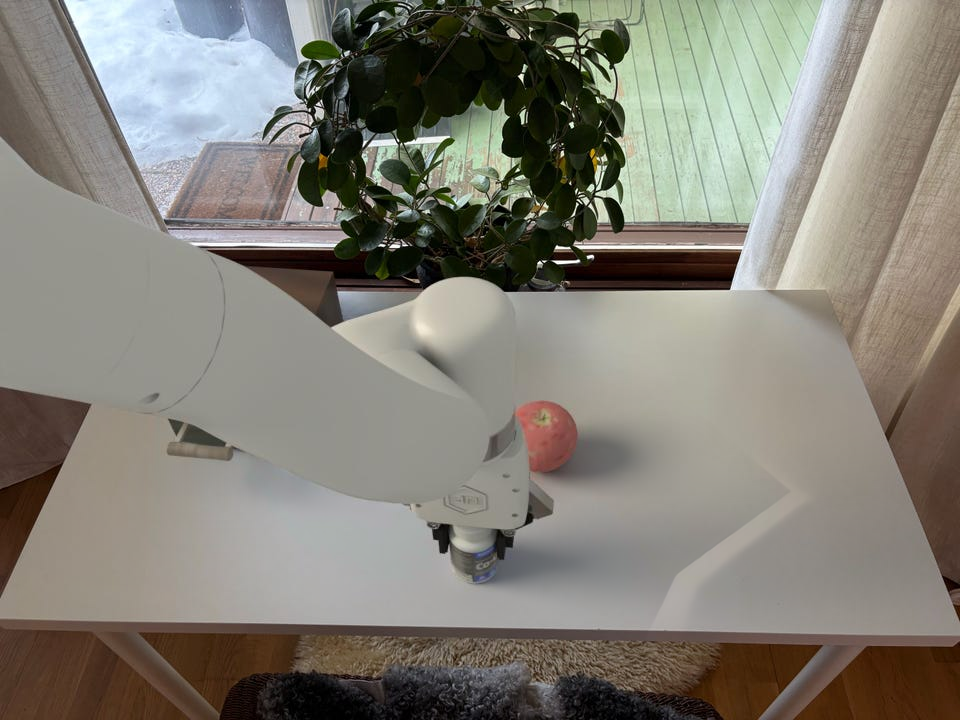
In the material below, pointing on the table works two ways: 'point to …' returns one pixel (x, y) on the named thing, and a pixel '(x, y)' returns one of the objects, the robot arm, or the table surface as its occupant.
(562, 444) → the apple
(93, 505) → the table surface
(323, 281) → the cabinet
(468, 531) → the pill bottle
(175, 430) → the drawer
